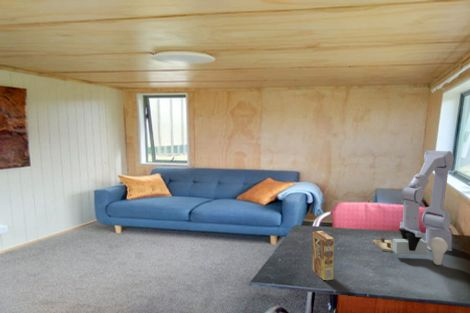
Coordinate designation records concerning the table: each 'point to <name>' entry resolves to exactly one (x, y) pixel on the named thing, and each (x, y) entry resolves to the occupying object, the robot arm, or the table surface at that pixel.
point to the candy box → (323, 255)
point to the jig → (384, 244)
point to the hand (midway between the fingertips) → (409, 248)
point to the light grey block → (403, 247)
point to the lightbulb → (438, 249)
